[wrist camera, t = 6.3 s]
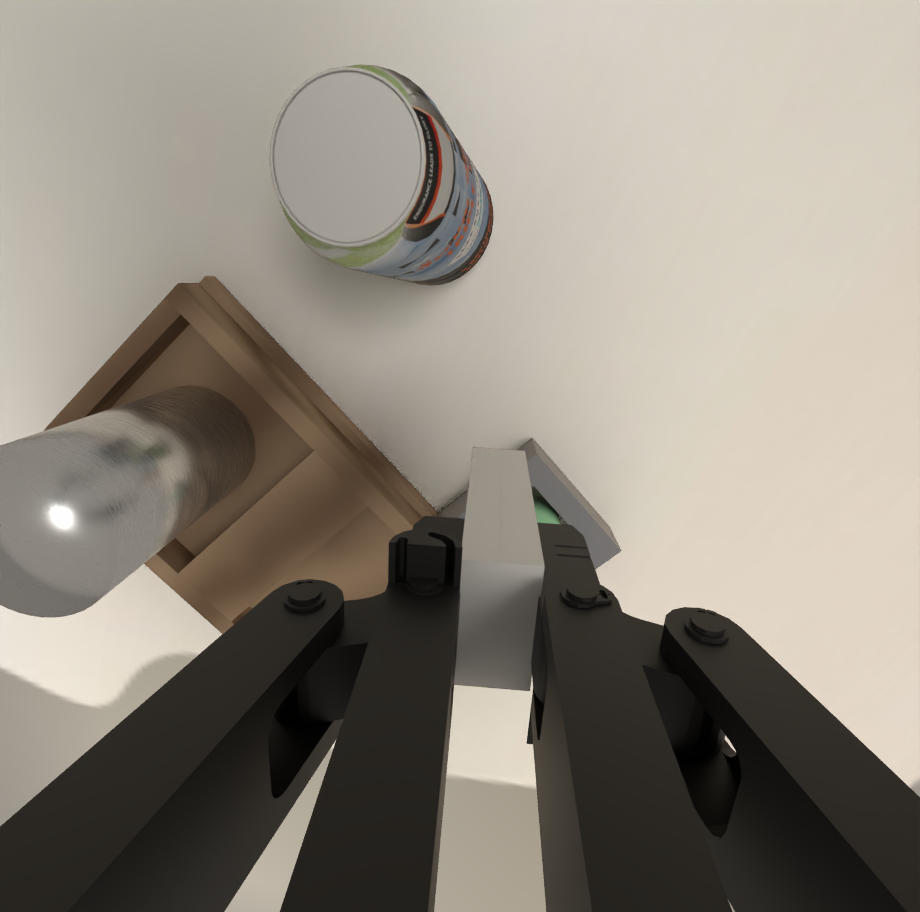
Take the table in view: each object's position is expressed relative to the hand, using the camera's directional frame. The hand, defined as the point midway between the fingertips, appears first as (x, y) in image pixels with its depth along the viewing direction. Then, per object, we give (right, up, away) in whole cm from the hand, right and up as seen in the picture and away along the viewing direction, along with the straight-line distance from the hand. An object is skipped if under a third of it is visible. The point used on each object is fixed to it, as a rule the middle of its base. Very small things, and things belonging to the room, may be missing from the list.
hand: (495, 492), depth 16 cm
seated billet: (-16, +2, +15) cm, 21 cm away
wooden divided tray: (-11, -3, +17) cm, 20 cm away
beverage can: (-3, +13, +12) cm, 18 cm away
